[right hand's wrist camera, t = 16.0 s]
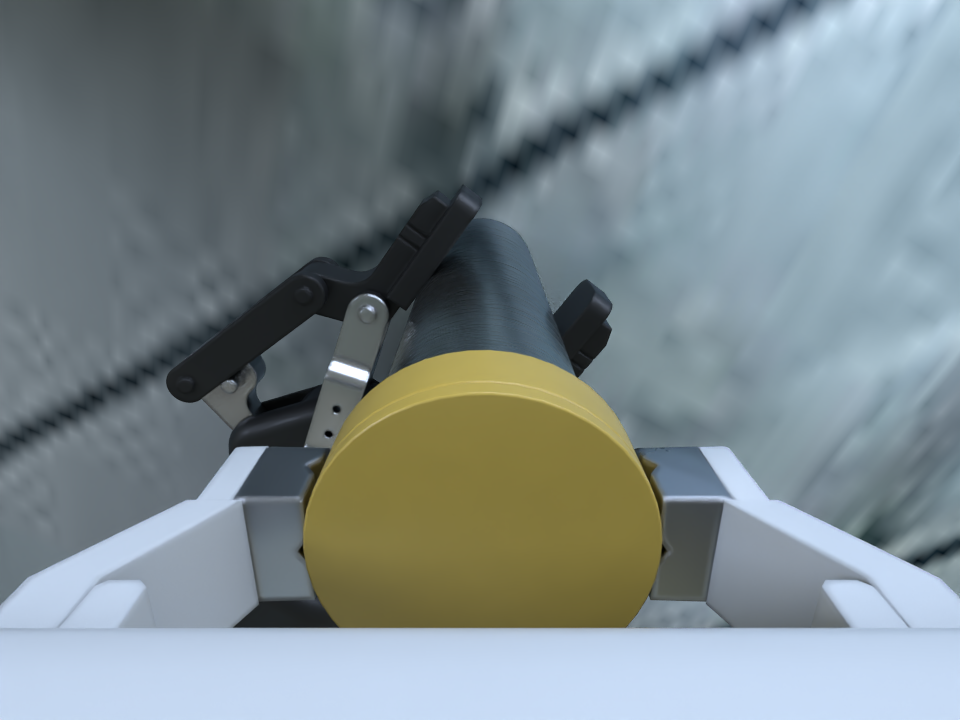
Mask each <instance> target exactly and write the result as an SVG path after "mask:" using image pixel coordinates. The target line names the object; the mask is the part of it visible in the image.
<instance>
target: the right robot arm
mask: <svg viewBox="0 0 960 720" xmlns="http://www.w3.org/2000/svg"><path fill="white" fill-rule="evenodd" d="M330 451H331V450H330V448H312V447H268V446H251V447H237V448H235V449H234V450H233V452H232V453H231V454H230V456H229V457H228V458H227V460H226V461H225V462H224V464H223V465H222V466H221V468H220V469H219V470H218V472H217V473H216V474H215V476H214V477H213V478H212V480H211V481H210V482H209V484H208V485H207V486H206V488H205V489H204V490H203V492H202V493H201V494H200V496H199V497H198V498H197V500H185V501H183V502H181V503H179V504H177V505H175V506H173V507H171V508H169V509H167V510H165V511H163V512H161V513H159V514H157V515H155V516H153V517H151V518H149V519H146V520H144V521H142V522H140V523H138V524H136V525H134V526H132V527H130V528H128V529H126V530H124V531H122V532H120V533H118V534H116V535H114V536H112V537H110V538H108V539H106V540H103V541H101V542H99V543H97V544H95V545H93V546H91V547H89V548H87V549H85V550H83V551H81V552H79V553H77V554H75V555H73V556H71V557H69V558H67V559H65V560H63V561H60V562H58V563H56V564H54V565H52V566H50V567H48V568H46V569H44V570H42V571H40V572H38V573H36V574H34V575H32V576H30V577H28V578H27V579H26V580H25V581H24V582H23V583H22V584H21V585H20V586H19V587H18V588H17V589H16V590H15V591H14V592H13V593H12V594H11V595H10V596H9V597H8V598H7V599H6V600H5V601H4V602H3V603H2V604H1V605H0V720H960V598H959V597H958V596H957V595H956V594H955V593H954V592H953V591H952V590H951V589H950V588H949V587H948V586H947V585H946V584H945V583H944V582H943V581H942V580H941V579H940V578H939V577H937V576H935V575H933V574H931V573H928V572H926V571H924V570H922V569H920V568H918V567H916V566H914V565H912V564H910V563H908V562H906V561H904V560H902V559H900V558H898V557H896V556H894V555H891V554H889V553H887V552H885V551H883V550H881V549H879V548H877V547H875V546H873V545H871V544H869V543H867V542H865V541H863V540H861V539H859V538H856V537H854V536H852V535H850V534H848V533H846V532H844V531H842V530H840V529H838V528H836V527H834V526H832V525H830V524H828V523H826V522H824V521H821V520H819V519H817V518H815V517H813V516H811V515H809V514H807V513H805V512H803V511H801V510H799V509H797V508H795V507H793V506H791V505H789V504H786V503H784V502H782V501H780V500H769V499H768V497H767V496H766V495H765V494H764V492H763V491H762V490H761V488H760V487H759V486H758V484H757V483H756V482H755V481H754V479H753V478H752V477H751V475H750V474H749V473H748V472H747V470H746V469H745V468H744V466H743V465H742V464H741V462H740V461H739V460H738V459H737V457H736V456H735V455H734V453H733V452H732V451H731V450H730V448H727V447H725V446H711V447H666V448H637V449H634V451H635V453H636V455H637V457H638V459H639V461H640V463H641V466H642V468H643V470H644V472H645V474H646V476H647V478H648V481H649V483H650V485H651V488H652V490H653V493H654V495H655V498H656V500H657V504H658V508H659V513H660V517H661V522H662V550H661V560H660V564H659V568H658V571H657V575H656V579H655V582H654V584H653V586H652V588H651V591H650V593H649V597H650V600H671V601H706V604H707V605H708V606H709V607H710V608H711V609H712V610H714V611H715V612H716V613H717V614H718V615H719V616H720V617H721V618H723V619H724V620H725V621H726V622H727V623H728V624H729V625H731V626H732V627H733V628H233V627H234V626H235V625H236V624H237V623H239V622H240V621H241V620H242V619H243V618H244V617H245V616H246V615H248V614H249V613H250V612H251V611H252V610H253V609H254V608H255V607H257V606H258V605H259V601H293V600H315V598H316V593H315V591H314V589H313V587H312V584H311V580H310V577H309V574H308V571H307V568H306V562H305V556H304V550H303V527H304V521H305V514H306V509H307V506H308V503H309V500H310V497H311V494H312V491H313V488H314V486H315V484H316V482H317V479H318V477H319V475H320V473H321V471H322V468H323V466H324V464H325V462H326V459H327V457H328V455H329V453H330Z"/></svg>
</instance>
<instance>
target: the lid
mask: <svg viewBox="0 0 960 720" xmlns="http://www.w3.org/2000/svg"><path fill="white" fill-rule="evenodd" d="M303 550H304V556H305V562H306V568H307V571H308V574H309V577H310V580H311V584H312V587H313V589H314V591H315V593H316V595H317V597H318V599H319V601H320V603H321V604H322V606H323V607H324V609H325V610H326V612H327V613H328V614H329V616H330V617H331V619H332V620H333V621H334V622H335V623H336V624H337V626H338V627H339V628H626V627H627V626H628V625H629V623H630V622H631V621H632V620H633V618H634V617H635V616H636V615H637V614H638V612H639V610H640V609H641V607H642V606H643V604H644V602H645V601H646V599H647V597H648V595H649V593H650V591H651V588H652V586H653V584H654V582H655V579H656V575H657V571H658V568H659V564H660V560H661V550H662V522H661V517H660V513H659V508H658V504H657V500H656V498H655V495H654V493H653V490H652V488H651V485H650V483H649V481H648V478H647V476H646V474H645V472H644V470H643V468H642V466H641V463H640V461H639V459H638V457H637V455H636V453H635V451H634V448H633V446H632V444H631V442H630V440H629V438H628V436H627V433H626V431H625V429H624V428H623V426H622V424H621V423H620V421H619V419H618V418H617V416H616V414H615V413H614V412H613V411H612V409H611V408H610V407H609V406H608V404H607V403H606V402H605V401H604V400H603V399H602V398H601V397H600V396H599V395H598V394H597V393H596V392H595V391H594V390H593V389H592V388H591V387H590V386H588V385H587V384H585V383H584V382H583V381H581V380H580V379H578V378H577V377H575V376H574V375H573V374H571V373H569V372H567V371H565V370H563V369H561V368H559V367H557V366H555V365H553V364H551V363H548V362H545V361H542V360H540V359H537V358H534V357H530V356H526V355H522V354H517V353H513V352H504V351H494V350H468V351H461V352H454V353H447V354H443V355H439V356H435V357H432V358H428V359H424V360H422V361H420V362H417V363H415V364H412V365H410V366H408V367H405V368H403V369H402V370H400V371H398V372H396V373H395V374H393V375H391V376H390V377H388V378H386V379H385V380H384V381H382V382H381V383H380V384H378V385H377V386H376V387H375V388H373V389H372V390H371V391H370V392H369V393H368V394H367V395H366V396H365V397H364V398H363V399H362V400H361V401H360V402H359V403H358V404H357V405H356V406H355V408H354V409H353V410H352V412H351V413H350V415H349V416H348V417H347V419H346V420H345V422H344V424H343V426H342V428H341V430H340V431H339V433H338V435H337V437H336V439H335V442H334V444H333V446H332V448H331V451H330V453H329V455H328V457H327V459H326V462H325V464H324V466H323V468H322V471H321V473H320V475H319V477H318V479H317V482H316V484H315V486H314V488H313V491H312V494H311V497H310V500H309V503H308V506H307V509H306V514H305V521H304V527H303Z"/></svg>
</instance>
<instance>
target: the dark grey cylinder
mask: <svg viewBox="0 0 960 720" xmlns="http://www.w3.org/2000/svg"><path fill="white" fill-rule="evenodd" d="M468 350H494V351H504V352H513V353H517V354H522V355H526V356H530V357H534V358H537V359H540V360H542V361H545V362H548V363H551V364H553V365H555V366H557V367H559V368H561V369H563V370H565V371H567V372H569V373H571V374H573V375H574V376H575V373H574V370H573V368H572V365H571V362H570V360H569V357H568V354H567V352H566V349H565V346H564V343H563V341H562V338H561V335H560V333H559V330H558V327H557V325H556V322H555V319H554V316H553V314H552V311H551V308H550V306H549V303H548V300H547V298H546V295H545V292H544V289H543V287H542V284H541V281H540V279H539V276H538V273H537V271H536V268H535V265H534V262H533V260H532V257H531V254H530V252H529V249H528V247H527V245H526V243H525V242H524V240H523V239H522V238H521V236H520V235H519V234H518V233H517V232H516V231H515V230H513V229H512V228H511V227H509V226H507V225H506V224H504V223H501V222H499V221H496V220H492V219H485V218H476V219H472V221H471V222H470V223H469V225H468V226H467V227H466V229H465V230H464V232H463V233H462V234H461V236H460V237H459V238H458V240H457V241H456V243H455V244H454V245H453V247H452V248H451V249H450V251H449V252H448V254H447V255H446V256H445V258H444V259H443V261H442V262H441V263H440V265H439V266H438V267H437V269H436V270H435V272H434V273H433V274H432V276H431V277H430V278H429V280H428V281H427V282H426V283H425V285H424V286H423V287H422V289H421V290H420V292H419V294H418V295H417V296H416V299H415V302H414V305H413V308H412V310H411V313H410V316H409V319H408V322H407V324H406V327H405V330H404V333H403V336H402V338H401V341H400V344H399V347H398V350H397V352H396V355H395V358H394V361H393V364H392V367H391V369H390V372H389V375H388V377H390V376H391V375H393V374H395V373H396V372H398V371H400V370H402V369H403V368H405V367H408V366H410V365H412V364H415V363H417V362H420V361H422V360H424V359H428V358H432V357H435V356H439V355H443V354H447V353H454V352H461V351H468ZM575 377H576V376H575Z"/></svg>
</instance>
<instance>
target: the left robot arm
mask: <svg viewBox="0 0 960 720" xmlns="http://www.w3.org/2000/svg"><path fill="white" fill-rule="evenodd" d="M481 205H482V198H481V197H479V196H478V195H477V194H475V193H474V192H473V191H471V190H470V189H469V188H467V187H466V186H465V185H464V184H463V185H462V186H461V188H460V189H459V190H458V192H457V193H456V194H455V196H454V197H453V199H452V200H450V199H449V198H447V197H446V196H445V195H443V194H442V193H441V192H440V191H436V192H435V193H433V194H432V195H430V196H429V197H427V198H426V199H424V200H423V201H422V202H421V204H420V205H419V207H418V208H417V210H416V211H415V213H414V214H413V215H412V217H411V218H410V220H409V221H408V223H407V224H406V226H405V227H404V229H403V230H402V231H401V233H400V234H399V236H398V237H397V239H396V240H395V242H394V243H393V244H392V246H391V247H390V249H389V250H388V252H387V253H386V255H385V256H384V258H383V259H382V260H381V262H380V263H379V264H378V265H377V266H376V267H375V268H373V269H371V270H369V271H364V272H357V271H353V270H349V269H346V268H342V267H339V266H338V264H337V263H336V262H335V261H333V260H332V259H330V258H327V257H317V258H315V259H313V260H311V261H310V262H309V263H307V264H306V265H305V266H303V267H302V268H301V269H299V270H298V271H297V272H296V273H294V274H293V275H292V276H290V277H289V278H288V279H287V280H285V281H284V282H283V283H281V284H280V285H279V286H278V287H276V288H275V289H274V290H272V291H271V292H270V293H269V294H267V295H266V296H265V297H263V298H262V299H261V300H260V301H258V302H257V303H256V304H254V305H253V306H252V307H250V308H249V309H248V310H247V311H245V312H244V313H243V314H241V315H240V316H239V317H238V318H236V319H235V320H234V321H232V322H231V323H230V324H229V325H227V326H226V327H225V328H223V329H222V330H221V331H220V332H218V333H217V334H216V335H214V336H213V337H212V338H211V339H209V340H208V341H207V342H205V343H204V344H203V345H202V346H200V347H199V348H198V349H197V350H196V351H194V352H193V353H192V354H191V355H189V356H188V357H187V358H186V359H185V360H183V361H182V362H181V363H180V364H178V365H177V366H176V367H175V368H174V369H172V370H171V371H170V372H169V374H168V376H167V379H166V384H167V388H168V390H169V392H170V393H171V394H172V395H173V396H174V397H175V398H176V399H178V400H180V401H183V402H188V403H192V402H196V401H199V400H200V399H202V400H203V401H204V402H205V403H206V404H207V405H208V406H209V407H210V408H211V409H212V410H213V411H214V412H215V413H216V414H217V415H218V416H219V417H220V418H221V419H222V420H223V421H224V422H225V423H226V424H227V425H228V426H229V427H230V428H231V429H232V430H233V431H232V433H231V436H230V439H229V456H230V454H231V453H232V452H233V450H234V449H235V448H237V447H251V446H268V447H312V448H330V450H331V448H332V446H333V444H334V442H335V439H336V437H337V435H338V433H339V431H340V430H341V428H342V426H343V424H344V422H345V420H346V419H347V417H348V416H349V415H350V413H351V412H352V410H353V409H354V408H355V406H356V405H357V404H358V403H359V402H360V401H361V400H362V399H363V398H364V397H365V396H366V395H367V394H368V393H369V392H370V391H371V390H372V389H373V388H375V387H376V386H377V385H378V384H380V383H379V382H378V381H376V380H374V379H373V378H372V377H373V374H374V371H375V368H376V365H377V362H378V359H379V356H380V353H381V350H382V346H383V342H384V339H385V336H386V333H387V330H388V327H389V324H390V321H391V319H392V317H393V316H394V314H395V313H396V312H397V310H398V309H399V307H401V308H403V309H404V310H407V309H408V307H409V306H410V305H411V303H412V302H413V300H414V299H415V298H416V296H417V295H418V294H419V292H420V290H421V289H422V287H423V286H424V285H425V283H426V282H427V281H428V280H429V278H430V277H431V276H432V274H433V273H434V272H435V270H436V269H437V267H438V266H439V265H440V263H441V262H442V261H443V259H444V258H445V256H446V255H447V254H448V252H449V251H450V249H451V248H452V247H453V245H454V244H455V243H456V241H457V240H458V238H459V237H460V236H461V234H462V233H463V232H464V230H465V229H466V227H467V226H468V225H469V223H470V222H471V221H472V219H473V218H474V216H475V215H476V213H477V212H478V210H479V209H480V207H481ZM611 309H612V303H611V301H610V300H609V299H608V297H607V296H606V294H605V293H604V292H603V291H601V290H600V289H599V288H598V287H596V286H595V285H594V284H592V283H591V282H590V281H588V280H584V281H582V282H581V283H580V284H579V285H578V286H577V287H576V288H575V289H574V291H573V292H572V293H571V294H570V295H569V297H568V298H567V299H566V300H565V301H564V303H563V304H562V305H561V306H560V308H559V309H558V310H557V311H556V312H555V314H554V315H553V316H554V319H555V322H556V325H557V327H558V330H559V333H560V335H561V338H562V341H563V343H564V346H565V349H566V352H567V354H568V357H569V360H570V362H571V365H572V368H573V370H574V373H575V376H576V377H577V378H578V377H579V376H580V375H581V374H582V372H583V371H584V369H585V368H587V367H588V366H589V364H590V363H591V362H592V360H593V359H595V358H596V356H597V355H598V354H599V353H600V352H601V351H602V350H603V348H604V347H605V346H606V344H607V341H608V339H609V336H610V333H611V331H612V329H611V327H610V326H609V324H608V322H607V321H606V318H607V317H608V315H609V314H610V312H611ZM314 314H318V315H322V316H325V317H329V318H332V319H336V320H340V321H343V325H342V328H341V331H340V335H339V338H338V341H337V345H336V348H335V351H334V354H333V357H332V360H331V363H330V365H329V367H328V370H327V372H326V375H325V378H324V381H323V384H322V385H318V386H315V387H312V388H308V389H305V390H302V391H298V392H295V393H291V394H288V395H285V396H281V397H278V398H275V399H271V400H268V401H264V402H260V401H259V399H258V397H257V394H256V387H257V384H258V383H259V382H260V380H261V379H262V378H263V377H264V375H265V372H266V365H265V362H264V360H263V359H262V357H261V354H262V353H263V352H265V351H266V350H267V349H269V348H270V347H271V346H273V345H274V344H275V343H277V342H278V341H279V340H281V339H282V338H283V337H285V336H286V335H287V334H289V333H290V332H291V331H293V330H294V329H295V328H297V327H298V326H299V325H301V324H302V323H303V322H305V321H306V320H307V319H309V318H310V317H311V316H313V315H314ZM233 628H339V627H338V626H337V624H336V623H335V622H334V621H333V620H332V619H331V617H330V616H329V614H328V613H327V612H326V610H325V609H324V607H323V606H322V604H321V603H320V601H319V599H318V597H317V595H316V598H315V600H293V601H259V605H258V606H257V607H255V608H254V609H253V610H252V611H251V612H250V613H249V614H248V615H246V616H245V617H244V618H243V619H242V620H241V621H240V622H239V623H237V624H236V625H235V626H234V627H233Z"/></svg>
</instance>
